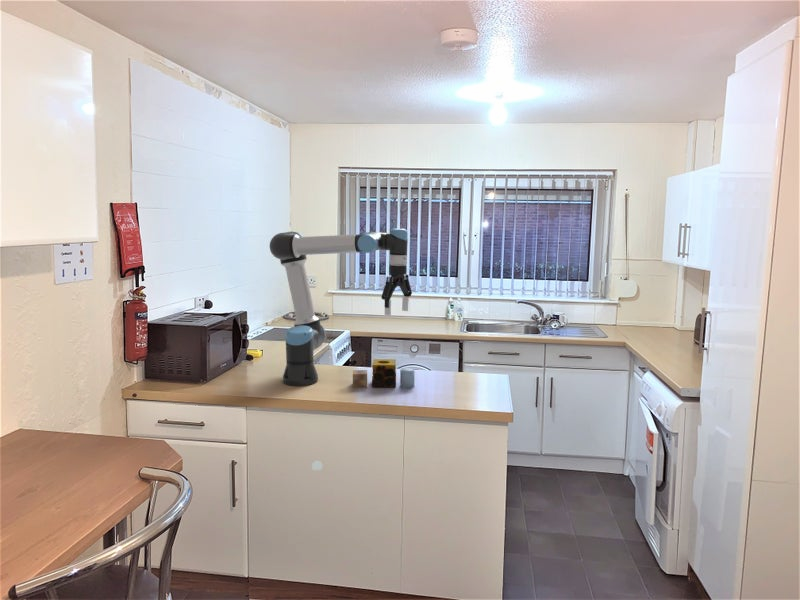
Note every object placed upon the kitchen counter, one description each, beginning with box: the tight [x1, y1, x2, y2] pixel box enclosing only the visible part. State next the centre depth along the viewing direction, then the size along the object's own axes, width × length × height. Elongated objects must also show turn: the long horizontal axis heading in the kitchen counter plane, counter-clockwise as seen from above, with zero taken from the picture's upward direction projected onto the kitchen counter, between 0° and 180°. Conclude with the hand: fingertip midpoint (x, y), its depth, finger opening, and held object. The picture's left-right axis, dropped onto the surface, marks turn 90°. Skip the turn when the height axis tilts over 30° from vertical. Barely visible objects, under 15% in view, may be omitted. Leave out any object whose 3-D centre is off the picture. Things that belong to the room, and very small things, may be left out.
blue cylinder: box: [399, 367, 416, 389], centre depth 253 cm, size 6×6×7 cm
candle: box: [371, 358, 397, 389], centre depth 255 cm, size 10×10×10 cm
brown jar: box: [352, 369, 368, 389], centre depth 253 cm, size 6×6×6 cm
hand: (396, 312), depth 261 cm, fingers open, 13 cm apart
